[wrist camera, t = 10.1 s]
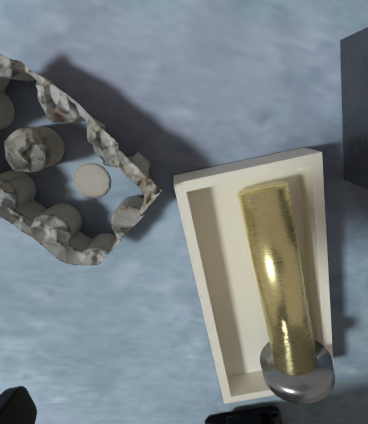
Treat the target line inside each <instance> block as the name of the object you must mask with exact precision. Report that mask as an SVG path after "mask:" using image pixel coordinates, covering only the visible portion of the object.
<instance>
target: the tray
mask: <svg viewBox="0 0 368 424" xmlns="http://www.w3.org/2000/svg"><path fill="white" fill-rule="evenodd" d="M273 181H284V182H287V183H288V187H289V193H290V199H291V205H292V211H293V217H294V223H295V229H296V235H297V241H298V247H299V253H300V259H301V265H302V271H303V277H304V283H305V289H306V295H307V301H308V308H309V314H310V320H311V326H312V332H313V338H314V339H315V340H316V341H318V342H320V343H321V344H322V345H323V346H324V347H326V349H327V350H328V351H329V353H330V355H331V357H332V361H333V349H332V330H331V311H330V292H329V273H328V254H327V235H326V217H325V198H324V179H323V160H322V152H320V151H316V150H312V149H308V148H299V149H294V150H290V151H285V152H280V153H276V154H271V155H266V156H262V157H257V158H253V159H248V160H243V161H239V162H234V163H229V164H225V165H220V166H216V167H211V168H206V169H202V170H197V171H192V172H188V173H183V174H179V175H174V183H173V184H174V188H175V193H176V197H177V201H178V206H179V210H180V214H181V219H182V223H183V227H184V232H185V236H186V240H187V245H188V249H189V253H190V258H191V262H192V266H193V271H194V275H195V279H196V284H197V288H198V292H199V297H200V301H201V305H202V309H203V314H204V318H205V322H206V327H207V331H208V335H209V340H210V344H211V348H212V353H213V357H214V361H215V366H216V370H217V374H218V379H219V383H220V387H221V392H222V396H223V400H224V404H226V403H232V402H238V401H243V400H249V399H255V398H261V397H266V396H272V395H275V394H274V393H273V392H272V391H271V390H270V389H269V388H268V386H267V385H266V383H265V380H264V377H263V373H262V368H261V364H260V354H261V351H262V349H263V347H264V346H265V345H266V344H267V343H268V342H269V338H268V333H267V329H266V324H265V319H264V315H263V310H262V305H261V301H260V296H259V291H258V287H257V282H256V277H255V273H254V268H253V263H252V258H251V254H250V249H249V244H248V240H247V235H246V230H245V226H244V221H243V216H242V212H241V207H240V202H239V198H238V192H239V191H240V190H242V189H244V188H246V187H249V186H252V185H256V184H260V183H265V182H273Z"/></svg>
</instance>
